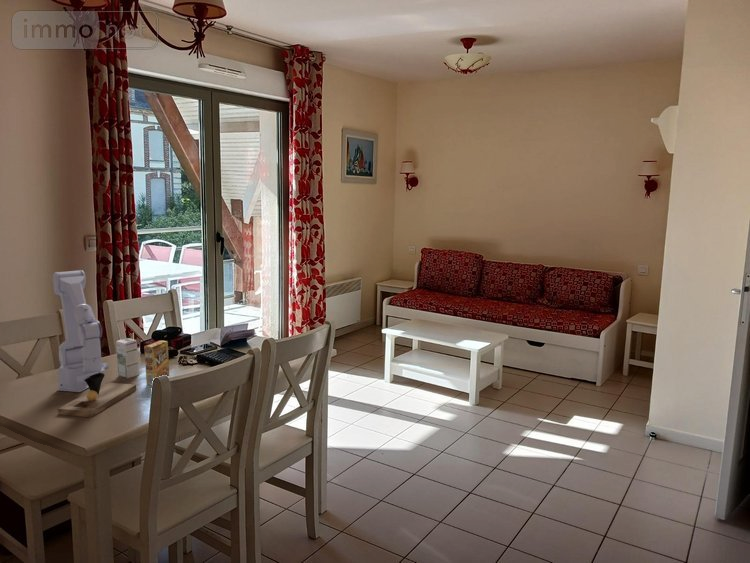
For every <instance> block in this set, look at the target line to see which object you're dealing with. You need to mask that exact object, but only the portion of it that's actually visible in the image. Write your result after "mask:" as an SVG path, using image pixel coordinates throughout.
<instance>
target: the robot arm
mask: <svg viewBox="0 0 750 563" xmlns="http://www.w3.org/2000/svg"><path fill="white" fill-rule="evenodd" d="M86 283H87V277H86V273H85V271H84V270H82V269H79V270H70V271H69V270H68V271H55V272H54V273H53V274H52V284H53V292H54V295H57V296H59V297H60V298H59V299H60V301H61V308H62V309H61V310H62V314H63V323H64V324H63V325H64V332H65V340H64V341H63V342H62V343H60V344H59V346H58V361H59V363H60V366H59V367H58V370H57V380H58V381H57V382H58V388H57V391H62V392H75V393H81V392H84V391H85V390H87V389H89V391H91V390H94V391H96V392H97V393H98V395H99V391H100V386H101V385H102V382H103V379H105V373H104V372H106V370H108V369H110V365H109V363H108V362H103V361H102V350H101V346H102V345H101V338H102V337H103V328H102V325H101V322H100V321H99V319H97V318H96V317H95V313H94V311H93V309H92V306H91V305H89V304H87V300H86V297H85V292H84V289H86V288H85V287H86Z"/></svg>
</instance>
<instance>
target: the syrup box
mask: <svg viewBox="0 0 750 563" xmlns="http://www.w3.org/2000/svg"><path fill="white" fill-rule="evenodd" d="M115 345H116V356H117V357H116V358H117V359H116V360H117V361H116V362H117V372H118V377H121V376H122V378H124V377H125V378H124V379H130V377H131V378H134V377H136V376H139V375H140V371H139V370H140V367H139V356H138V341H137V339H133V338H129V337H126V338H122V339H119V340H116V341H115Z"/></svg>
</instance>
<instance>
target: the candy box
mask: <svg viewBox="0 0 750 563" xmlns="http://www.w3.org/2000/svg"><path fill="white" fill-rule="evenodd" d="M168 346H169V343H168V340H162V339H160V340H157V341H153V342H152V343H150V344H146V345H144V346H143V347H144V348H143V349H144V360H145V362H144V363H145V379H146V385H150V386H152V385H151V384H152V381H153V378H155V377H159V376H162V375H167V376H169V377H170V365H169V364H170V363H169V347H168Z"/></svg>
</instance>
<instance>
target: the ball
mask: <svg viewBox="0 0 750 563" xmlns="http://www.w3.org/2000/svg"><path fill="white" fill-rule="evenodd" d="M86 393H87V399H88V400H90V401H93V400H95V399H97V397H98V393H97V392H96V391H94V390H91V391H90V390H89V391H88V392H86Z"/></svg>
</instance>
